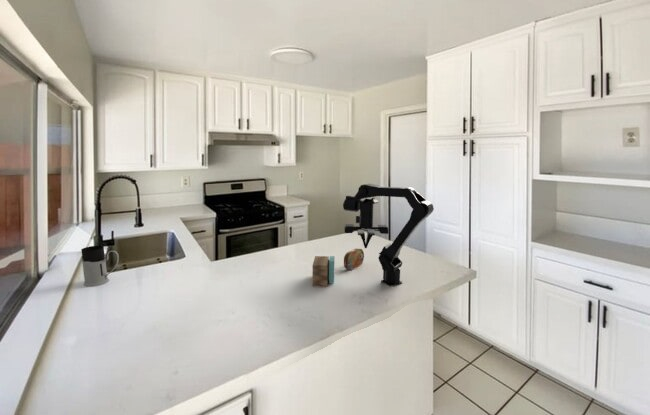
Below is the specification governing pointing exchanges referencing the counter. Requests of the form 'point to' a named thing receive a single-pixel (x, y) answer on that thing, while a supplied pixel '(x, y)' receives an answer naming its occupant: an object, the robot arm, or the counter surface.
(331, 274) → the teal flanged block
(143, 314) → the counter surface
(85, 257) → the grey black mug
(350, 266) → the tin
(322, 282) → the block
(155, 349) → the counter surface
